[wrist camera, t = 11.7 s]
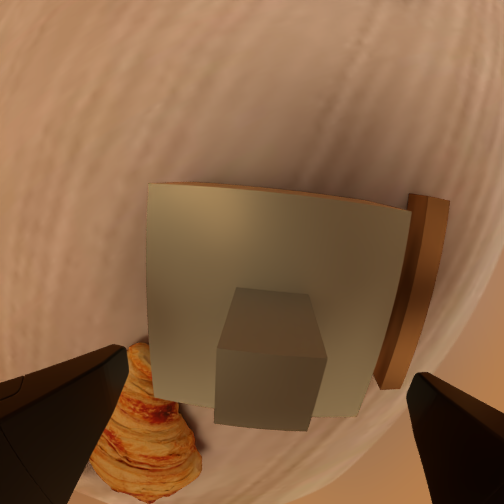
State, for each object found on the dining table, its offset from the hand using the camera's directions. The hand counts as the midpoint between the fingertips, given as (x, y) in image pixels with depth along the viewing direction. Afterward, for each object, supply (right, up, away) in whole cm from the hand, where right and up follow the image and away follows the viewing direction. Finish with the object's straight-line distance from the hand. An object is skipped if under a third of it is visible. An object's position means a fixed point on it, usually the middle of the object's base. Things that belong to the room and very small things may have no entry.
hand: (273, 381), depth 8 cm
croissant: (-9, -12, +14) cm, 21 cm away
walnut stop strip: (+9, +1, +9) cm, 13 cm away
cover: (0, +2, +10) cm, 10 cm away
